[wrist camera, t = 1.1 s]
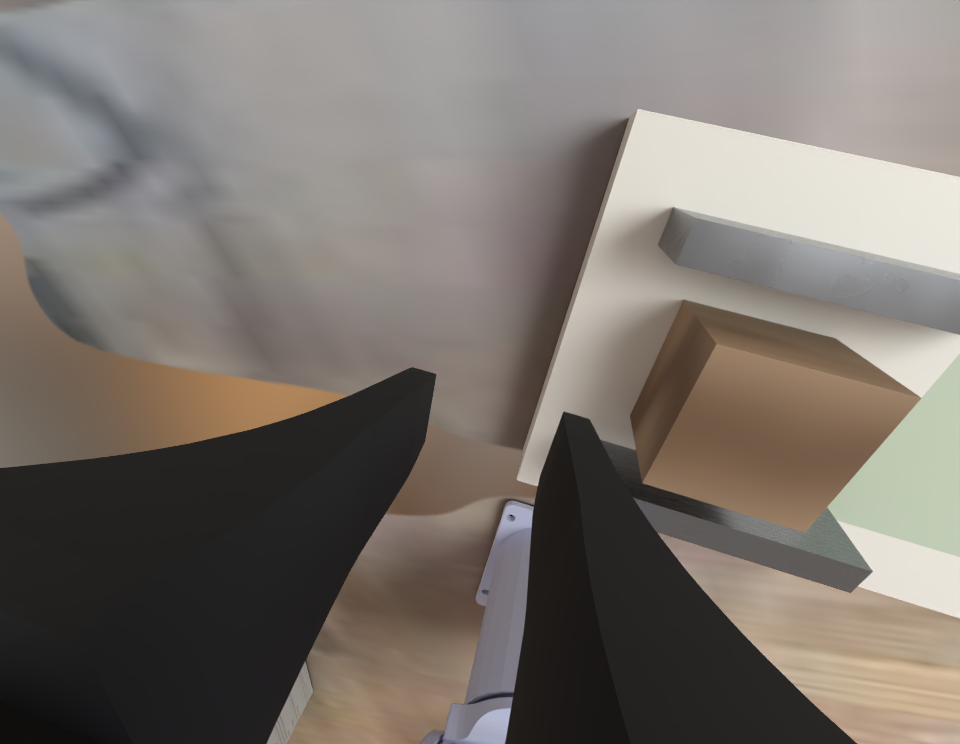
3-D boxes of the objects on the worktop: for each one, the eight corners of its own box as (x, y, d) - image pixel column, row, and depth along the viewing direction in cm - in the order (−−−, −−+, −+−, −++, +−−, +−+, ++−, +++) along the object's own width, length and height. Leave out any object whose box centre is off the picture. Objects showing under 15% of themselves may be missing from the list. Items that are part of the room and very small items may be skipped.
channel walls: (809, 526, 17) (850, 592, 14) (573, 455, 18) (571, 505, 15) (1016, 287, 12) (1138, 322, 9) (673, 207, 13) (695, 217, 10)
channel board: (1070, 613, 19) (1133, 672, 17) (523, 447, 21) (516, 480, 19) (1539, 312, 12) (1760, 346, 9) (629, 117, 14) (638, 109, 12)
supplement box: (232, 627, 38) (88, 818, 27) (306, 649, 37) (186, 858, 26) (247, 670, 41) (125, 855, 30) (315, 692, 40) (214, 893, 29)
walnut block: (756, 452, 16) (804, 532, 13) (629, 415, 17) (642, 483, 13) (835, 338, 14) (921, 397, 10) (683, 299, 14) (716, 343, 11)
